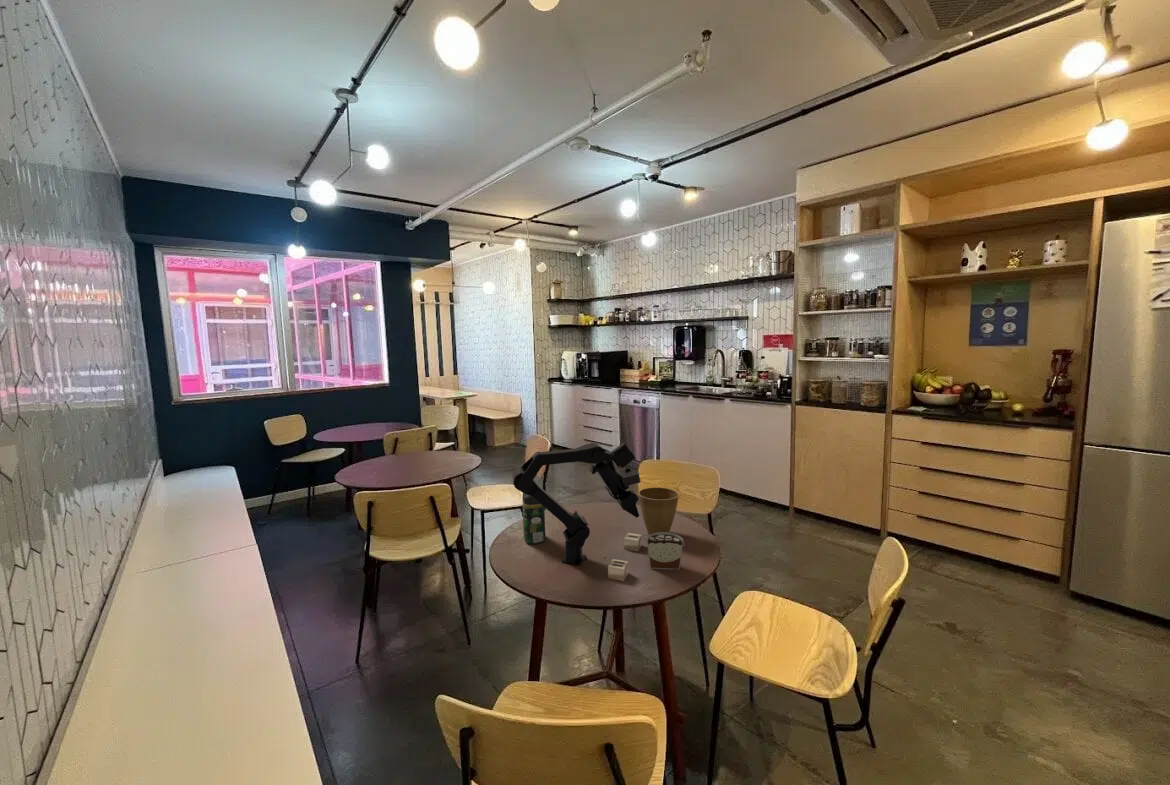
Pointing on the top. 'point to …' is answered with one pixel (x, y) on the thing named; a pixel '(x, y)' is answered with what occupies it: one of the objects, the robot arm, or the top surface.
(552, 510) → the robot arm
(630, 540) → the numbered tile one
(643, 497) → the plant pot
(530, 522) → the coffee jar
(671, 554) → the food container
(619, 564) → the numbered tile two
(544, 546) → the top surface
